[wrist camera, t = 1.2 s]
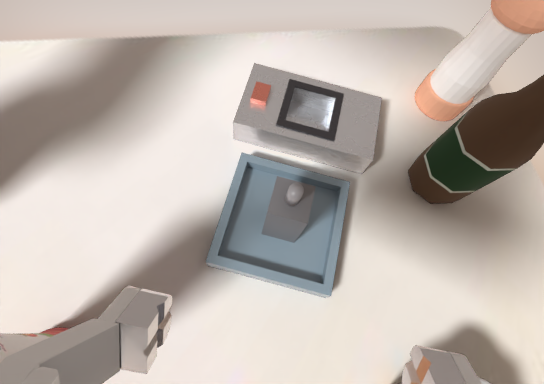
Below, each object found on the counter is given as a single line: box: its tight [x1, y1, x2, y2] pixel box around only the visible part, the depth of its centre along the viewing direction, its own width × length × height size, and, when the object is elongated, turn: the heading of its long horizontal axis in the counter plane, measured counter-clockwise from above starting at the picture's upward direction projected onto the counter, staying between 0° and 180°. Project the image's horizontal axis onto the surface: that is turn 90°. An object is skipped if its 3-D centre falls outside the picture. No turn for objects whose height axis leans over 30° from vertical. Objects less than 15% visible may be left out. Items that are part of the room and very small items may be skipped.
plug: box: [261, 176, 316, 243], centre depth 33 cm, size 4×4×10 cm
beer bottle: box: [408, 75, 544, 204], centre depth 33 cm, size 8×8×24 cm
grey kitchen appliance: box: [233, 63, 382, 174], centre depth 43 cm, size 18×10×5 cm, turn 76°
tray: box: [206, 153, 350, 298], centre depth 38 cm, size 14×14×2 cm
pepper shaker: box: [415, 0, 544, 121], centre depth 40 cm, size 7×7×19 cm
